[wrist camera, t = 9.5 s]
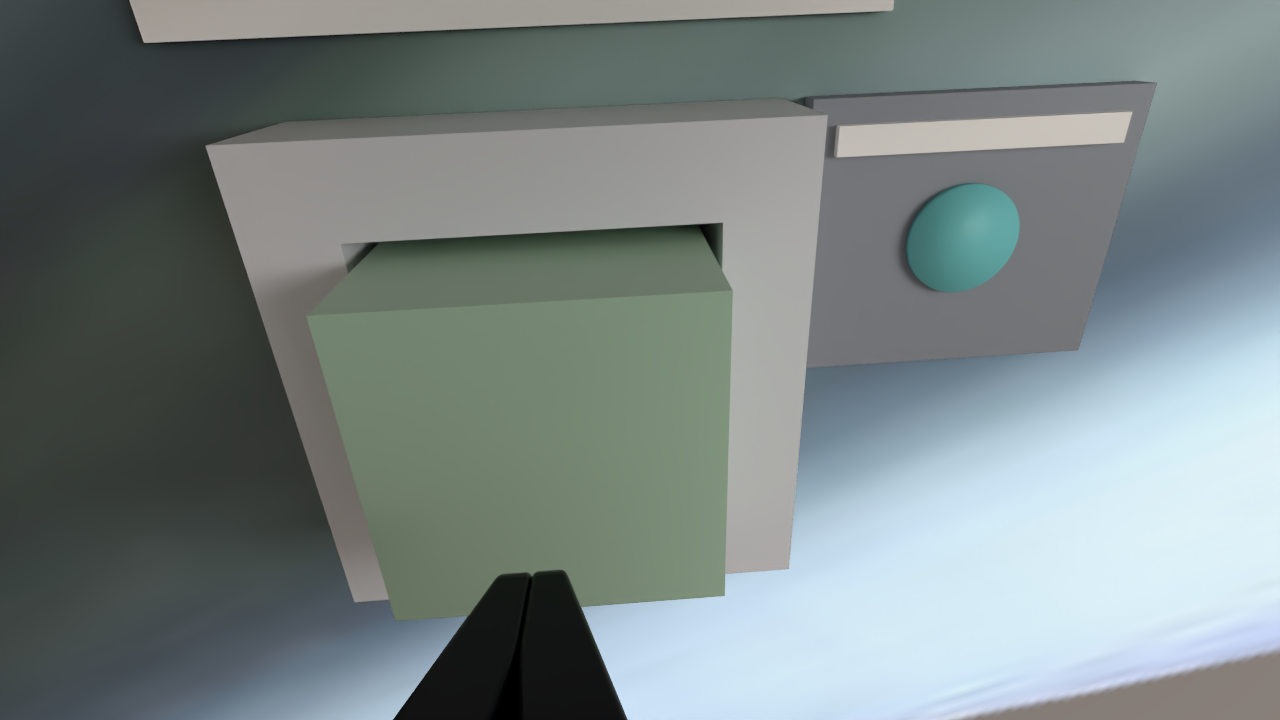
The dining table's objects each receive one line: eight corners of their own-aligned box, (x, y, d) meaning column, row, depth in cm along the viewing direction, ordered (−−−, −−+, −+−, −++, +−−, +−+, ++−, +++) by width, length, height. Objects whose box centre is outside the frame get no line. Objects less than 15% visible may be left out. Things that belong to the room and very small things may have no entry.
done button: (694, 218, 13) (732, 290, 9) (694, 466, 16) (724, 595, 12) (386, 235, 13) (306, 315, 9) (441, 484, 15) (395, 621, 12)
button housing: (781, 97, 13) (828, 114, 11) (759, 488, 18) (788, 568, 15) (284, 121, 13) (206, 145, 10) (390, 515, 18) (354, 602, 15)
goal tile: (1134, 81, 14) (1164, 83, 13) (1062, 340, 16) (1083, 353, 16) (805, 96, 13) (817, 100, 13) (786, 357, 16) (795, 372, 15)
